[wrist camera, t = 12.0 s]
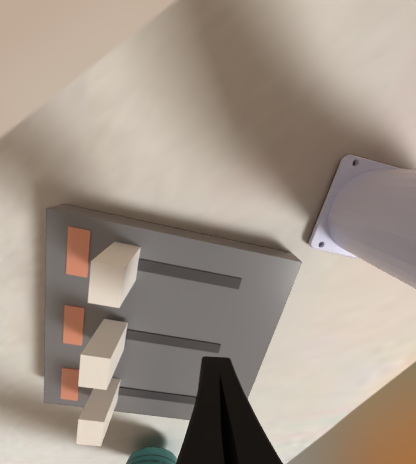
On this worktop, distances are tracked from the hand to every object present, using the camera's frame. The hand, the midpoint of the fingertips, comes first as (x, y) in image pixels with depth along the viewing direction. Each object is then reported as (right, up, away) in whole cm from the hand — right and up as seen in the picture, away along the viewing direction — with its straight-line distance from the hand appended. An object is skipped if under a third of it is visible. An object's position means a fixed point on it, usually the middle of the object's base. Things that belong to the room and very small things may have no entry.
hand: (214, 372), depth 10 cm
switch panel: (-5, -2, +10) cm, 12 cm away
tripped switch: (-8, -2, +8) cm, 12 cm away
